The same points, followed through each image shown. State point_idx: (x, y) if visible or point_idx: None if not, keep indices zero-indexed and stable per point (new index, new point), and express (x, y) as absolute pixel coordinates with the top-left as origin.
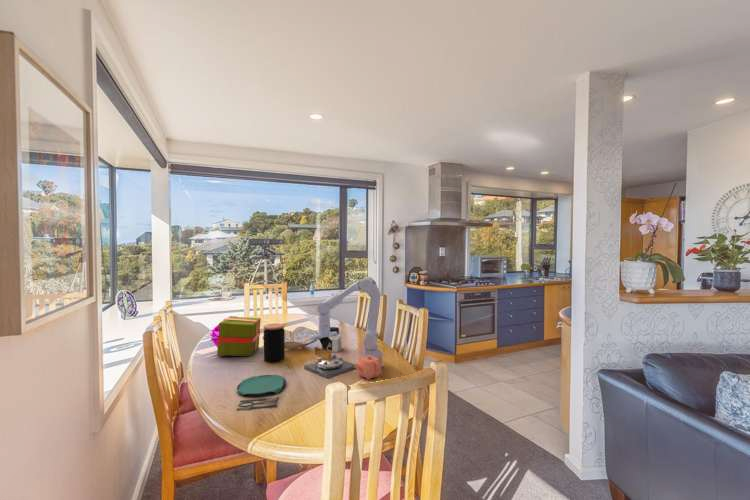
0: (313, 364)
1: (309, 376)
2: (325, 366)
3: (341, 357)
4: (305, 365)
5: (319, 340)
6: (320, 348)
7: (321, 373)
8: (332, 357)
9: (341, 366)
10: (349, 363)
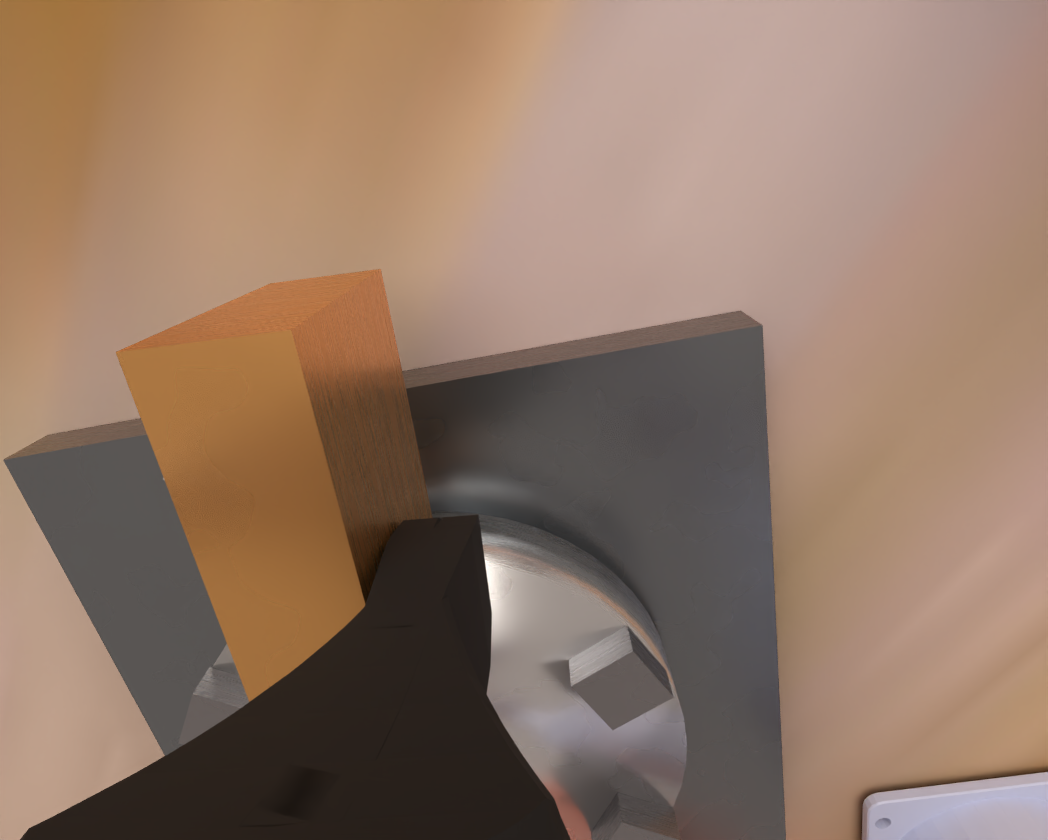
0: None
1: (75, 740)
2: None
3: (669, 837)
4: (28, 476)
5: (102, 802)
6: (258, 681)
7: None
8: (570, 662)
9: None
10: (752, 783)
